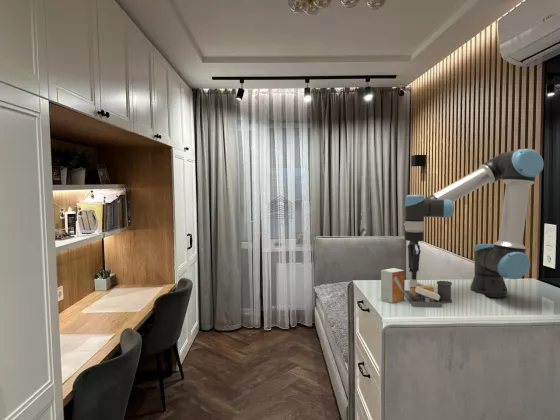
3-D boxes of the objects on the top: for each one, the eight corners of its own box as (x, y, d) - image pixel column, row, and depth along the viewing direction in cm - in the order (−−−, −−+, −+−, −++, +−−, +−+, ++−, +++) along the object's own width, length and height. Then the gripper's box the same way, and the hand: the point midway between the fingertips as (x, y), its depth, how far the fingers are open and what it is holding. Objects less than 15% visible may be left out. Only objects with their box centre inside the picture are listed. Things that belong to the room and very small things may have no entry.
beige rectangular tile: (436, 298, 154) (437, 293, 154) (438, 300, 151) (440, 296, 151) (414, 290, 155) (416, 286, 155) (416, 292, 152) (418, 288, 152)
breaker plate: (430, 295, 167) (430, 287, 167) (442, 307, 150) (442, 298, 149) (404, 294, 169) (404, 286, 169) (413, 306, 151) (412, 297, 151)
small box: (392, 303, 156) (392, 272, 155) (380, 300, 161) (380, 269, 161) (405, 300, 160) (405, 269, 160) (393, 297, 166) (393, 267, 165)
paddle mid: (431, 289, 160) (431, 285, 160) (433, 291, 157) (433, 287, 157) (409, 291, 161) (409, 286, 161) (411, 293, 158) (411, 288, 158)
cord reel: (449, 299, 160) (449, 280, 160) (453, 303, 155) (453, 284, 154) (435, 299, 161) (435, 280, 161) (439, 303, 156) (439, 283, 155)
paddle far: (428, 290, 166) (430, 286, 166) (430, 292, 163) (432, 288, 163) (408, 283, 167) (410, 279, 167) (410, 285, 164) (411, 281, 164)
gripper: (401, 229, 165) (401, 282, 166) (408, 232, 152) (407, 290, 153) (419, 229, 164) (418, 283, 165) (427, 232, 151) (426, 290, 152)
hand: (413, 286), depth 159 cm, fingers closed, pressing on paddle mid
